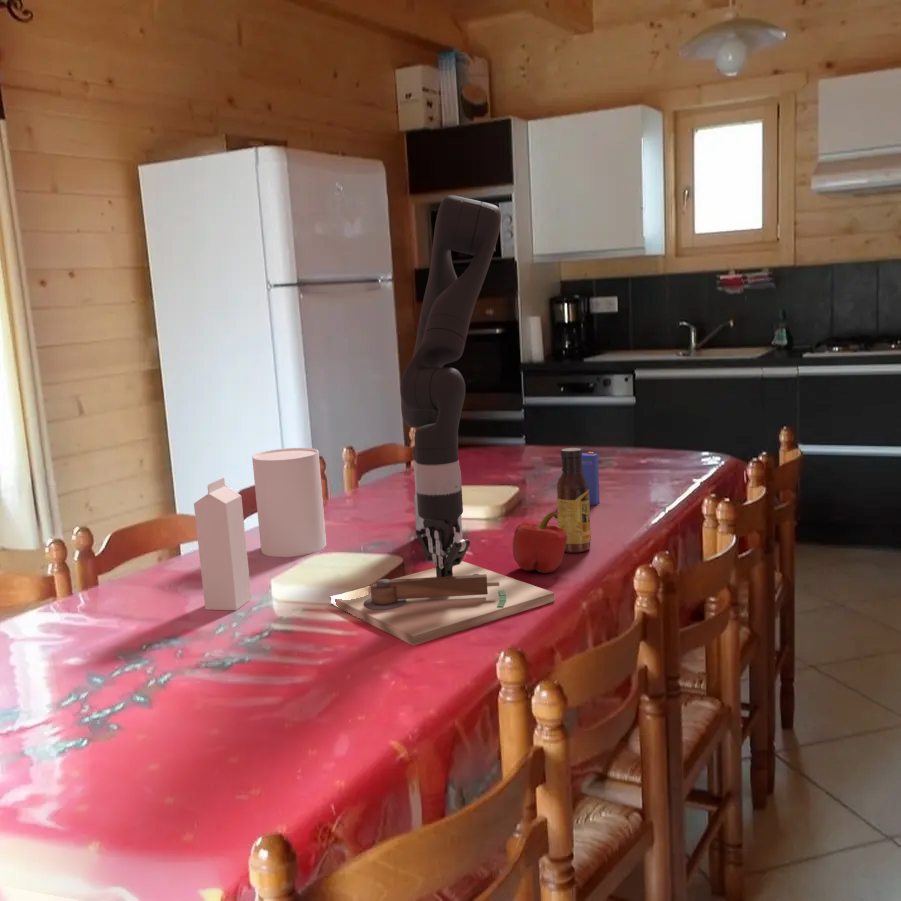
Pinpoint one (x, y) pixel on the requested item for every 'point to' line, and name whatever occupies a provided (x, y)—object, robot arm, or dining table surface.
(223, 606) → the milk
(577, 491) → the sauce bottle
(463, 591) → the dial lever
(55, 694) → the dining table surface
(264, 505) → the canister
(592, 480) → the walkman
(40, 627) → the dining table surface
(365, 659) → the dining table surface
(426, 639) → the dial board
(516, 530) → the vegetable
